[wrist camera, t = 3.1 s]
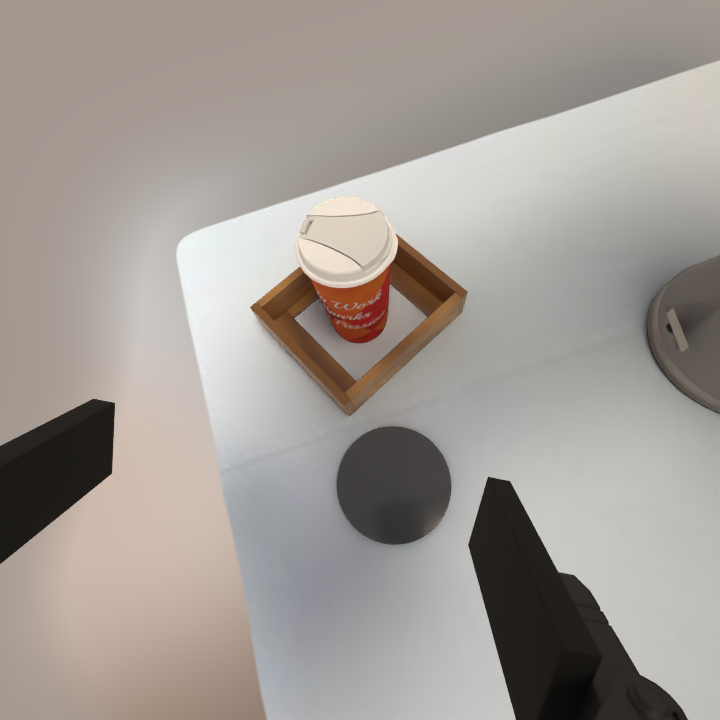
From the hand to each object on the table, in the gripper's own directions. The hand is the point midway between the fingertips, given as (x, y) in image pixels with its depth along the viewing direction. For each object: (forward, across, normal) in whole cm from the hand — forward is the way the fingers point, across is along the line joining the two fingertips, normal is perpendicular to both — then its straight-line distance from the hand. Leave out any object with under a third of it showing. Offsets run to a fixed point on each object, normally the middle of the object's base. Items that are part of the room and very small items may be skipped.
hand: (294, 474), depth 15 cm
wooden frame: (+31, 0, +1) cm, 31 cm away
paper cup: (+31, 0, +1) cm, 31 cm away
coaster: (+21, +6, -12) cm, 25 cm away
